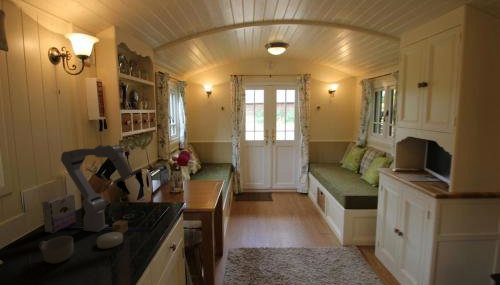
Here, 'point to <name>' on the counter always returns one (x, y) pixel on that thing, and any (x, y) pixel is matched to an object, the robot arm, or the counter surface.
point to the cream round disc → (109, 240)
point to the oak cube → (120, 226)
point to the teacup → (57, 249)
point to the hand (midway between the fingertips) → (136, 190)
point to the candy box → (59, 213)
